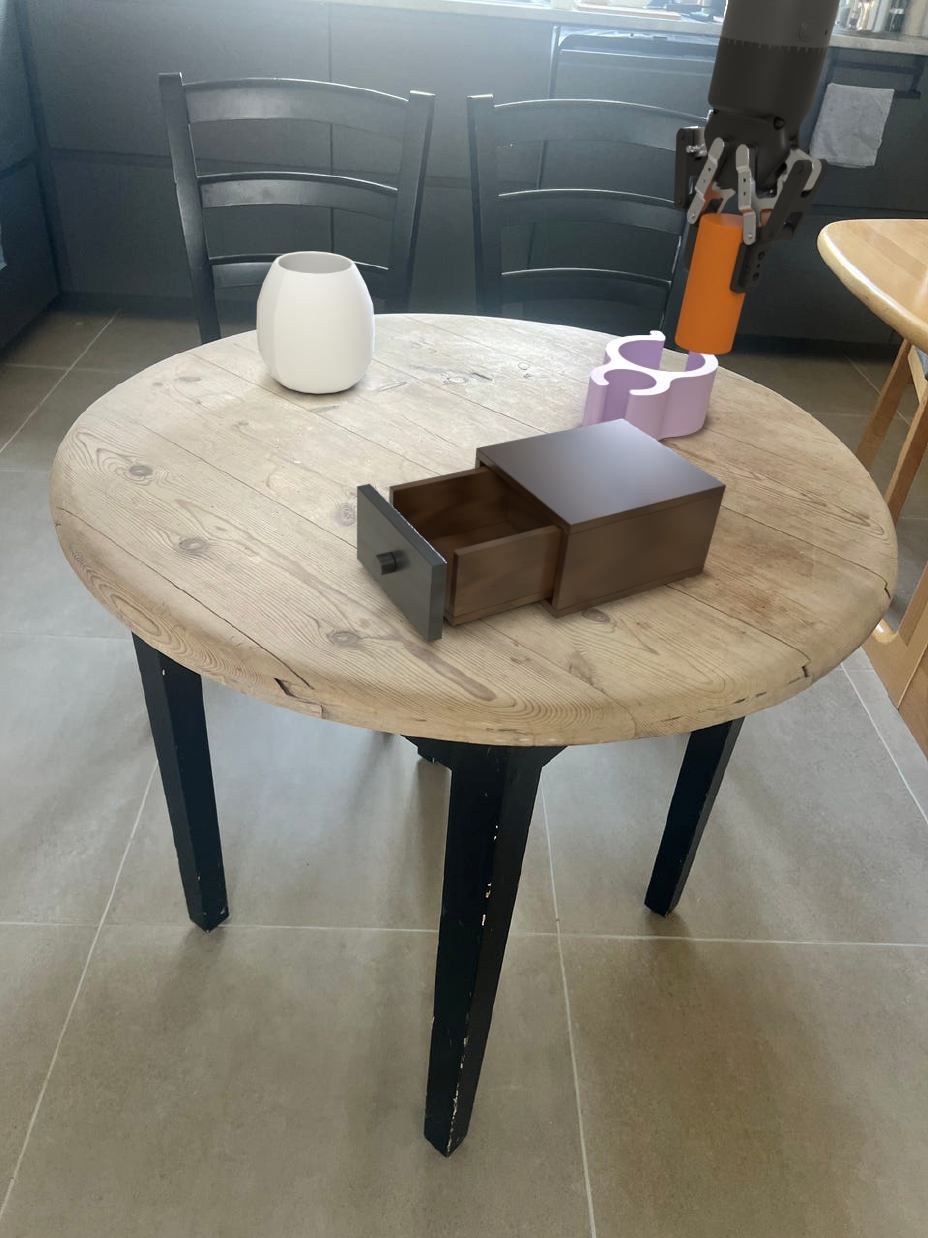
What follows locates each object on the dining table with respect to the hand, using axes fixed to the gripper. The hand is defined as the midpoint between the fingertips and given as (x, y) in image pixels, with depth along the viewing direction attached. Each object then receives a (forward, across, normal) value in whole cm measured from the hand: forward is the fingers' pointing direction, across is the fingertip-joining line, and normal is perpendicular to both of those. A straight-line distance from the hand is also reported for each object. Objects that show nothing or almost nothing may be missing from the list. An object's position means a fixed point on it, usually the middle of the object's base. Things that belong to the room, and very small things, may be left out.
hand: (717, 280), depth 74 cm
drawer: (+21, -3, +25) cm, 32 cm away
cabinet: (+21, -3, +12) cm, 25 cm away
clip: (+22, +17, -11) cm, 30 cm away
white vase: (+22, +40, +18) cm, 49 cm away
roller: (+5, 0, 0) cm, 5 cm away
